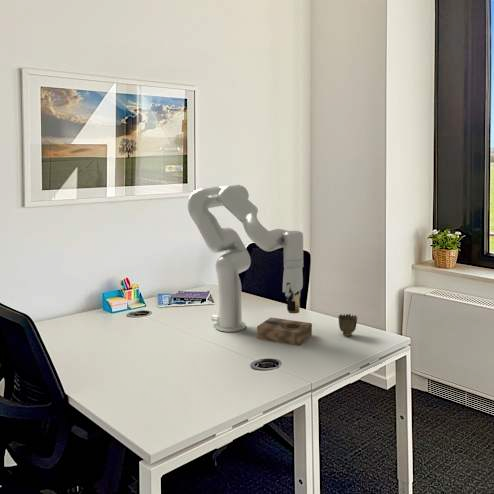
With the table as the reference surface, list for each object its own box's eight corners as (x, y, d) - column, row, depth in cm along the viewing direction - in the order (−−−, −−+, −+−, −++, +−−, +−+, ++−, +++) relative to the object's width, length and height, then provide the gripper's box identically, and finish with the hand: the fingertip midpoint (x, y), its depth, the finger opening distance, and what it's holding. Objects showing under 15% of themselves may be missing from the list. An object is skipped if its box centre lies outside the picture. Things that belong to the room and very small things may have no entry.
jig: (257, 338, 221) (257, 324, 220) (270, 328, 232) (270, 315, 231) (299, 345, 213) (299, 330, 212) (311, 335, 224) (311, 321, 223)
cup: (356, 339, 219) (357, 319, 217) (337, 338, 220) (338, 318, 219) (356, 333, 226) (357, 314, 225) (338, 332, 227) (338, 313, 226)
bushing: (286, 312, 218) (286, 295, 217) (290, 309, 222) (290, 292, 220) (297, 313, 216) (296, 296, 215) (301, 310, 220) (301, 293, 218)
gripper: (292, 258, 224) (293, 302, 228) (275, 266, 210) (276, 313, 213) (310, 259, 221) (310, 304, 224) (294, 268, 206) (294, 316, 209)
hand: (293, 308), depth 218 cm, fingers closed on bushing, 4 cm apart
